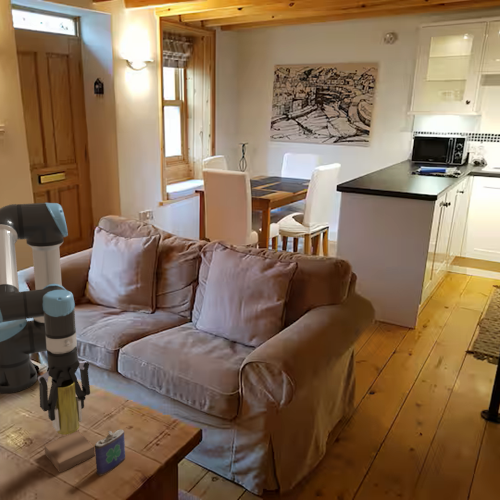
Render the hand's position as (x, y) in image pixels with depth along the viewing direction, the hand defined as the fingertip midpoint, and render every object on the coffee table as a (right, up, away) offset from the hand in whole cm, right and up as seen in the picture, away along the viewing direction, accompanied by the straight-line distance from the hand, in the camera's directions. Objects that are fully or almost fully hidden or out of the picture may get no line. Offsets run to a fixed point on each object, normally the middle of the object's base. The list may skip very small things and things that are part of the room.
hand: (67, 423), depth 132 cm
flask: (+12, -12, -1) cm, 17 cm away
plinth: (0, -10, +3) cm, 10 cm away
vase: (0, -2, 0) cm, 2 cm away
